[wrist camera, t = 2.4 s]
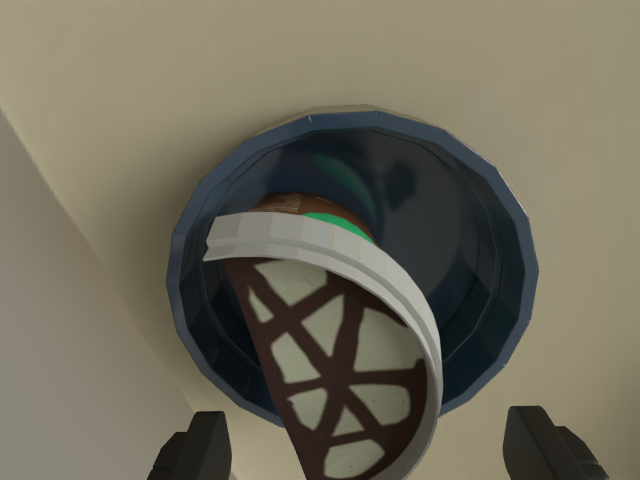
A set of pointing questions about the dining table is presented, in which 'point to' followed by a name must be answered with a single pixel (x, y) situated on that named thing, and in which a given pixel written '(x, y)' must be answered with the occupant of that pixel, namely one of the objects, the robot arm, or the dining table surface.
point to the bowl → (387, 229)
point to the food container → (334, 335)
